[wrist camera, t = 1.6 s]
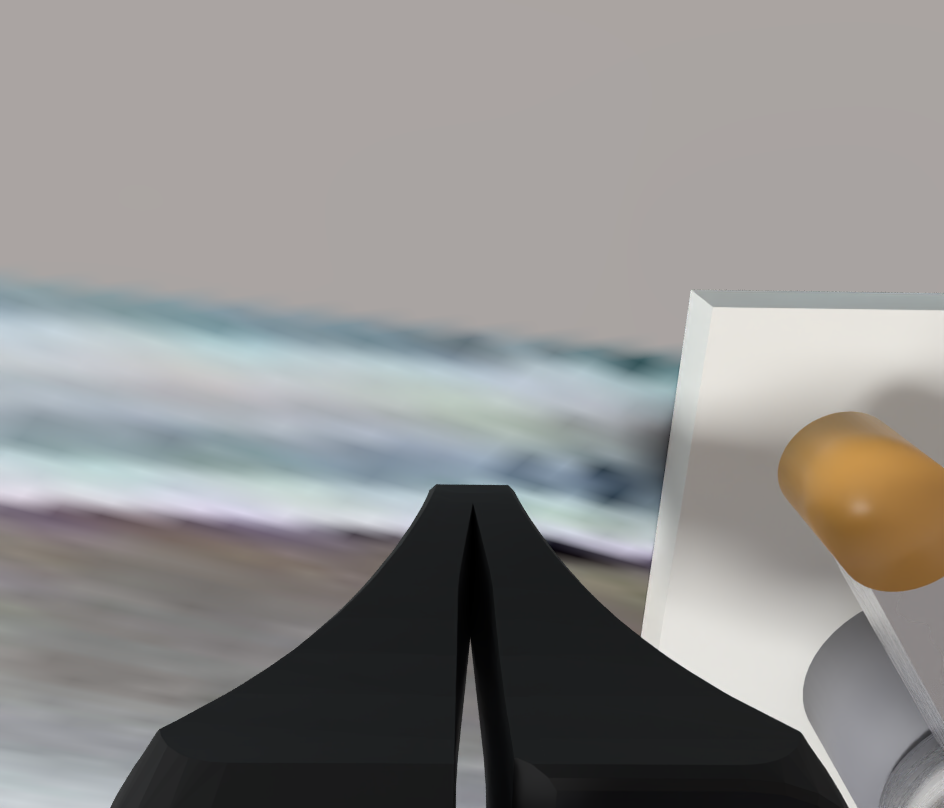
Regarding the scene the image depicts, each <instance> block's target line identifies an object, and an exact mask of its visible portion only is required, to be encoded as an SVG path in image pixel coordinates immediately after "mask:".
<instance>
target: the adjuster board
mask: <svg viewBox="0 0 944 808" xmlns="http://www.w3.org/2000/svg"><path fill="white" fill-rule="evenodd" d="M849 411H854V412H862V413H865V414H869V415H871V416H874V417H876V418H877V419H879V420H881V421H882V422H883V423H885V424H886V425H887V426H889V427H890V428H891V429H893V430H894V431H895V432H897V433H898V434H899V435H901V436H902V437H903V438H905V439H906V440H907V441H909V442H910V443H911V444H913V445H914V446H915V447H917V448H918V449H919V450H921V451H922V452H923V453H925V454H926V455H927V456H929V457H930V458H931V459H933V460H934V461H935V462H937V463H938V464H939V465H941V466H942V467H943V468H944V293H889V292H888V293H886V292H820V291H818V292H817V291H750V290H749V291H747V290H691V295H690V301H689V308H688V315H687V322H686V328H685V335H684V342H683V349H682V356H681V363H680V370H679V377H678V384H677V391H676V398H675V405H674V412H673V419H672V425H671V432H670V439H669V446H668V453H667V460H666V467H665V474H664V481H663V488H662V495H661V502H660V509H659V516H658V522H657V529H656V536H655V543H654V550H653V557H652V564H651V571H650V578H649V585H648V592H647V599H646V606H645V613H644V620H643V626H642V633H641V637H642V638H643V639H644V640H646V641H647V642H648V643H650V644H651V645H652V646H654V647H655V648H656V649H658V650H659V651H660V652H662V653H663V654H665V655H666V656H667V657H669V658H670V659H672V660H673V661H675V662H676V663H678V664H679V665H681V666H682V667H684V668H685V669H687V670H688V671H690V672H692V673H693V674H695V675H697V676H698V677H700V678H702V679H703V680H705V681H707V682H708V683H710V684H711V685H713V686H715V687H716V688H718V689H720V690H721V691H723V692H725V693H726V694H728V695H730V696H732V697H734V698H736V699H738V700H740V701H742V702H743V703H745V704H747V705H749V706H751V707H753V708H755V709H757V710H759V711H761V712H763V713H765V714H767V715H769V716H771V717H773V718H775V719H777V720H779V721H781V722H783V723H784V724H786V725H788V726H790V727H792V728H794V729H796V730H798V731H800V732H801V733H802V734H803V736H804V737H805V739H806V741H807V742H808V744H809V745H810V747H811V748H812V750H813V751H814V752H815V754H816V755H817V757H818V758H819V760H820V761H821V762H822V764H823V765H824V767H825V768H826V770H827V771H828V773H829V774H830V776H831V778H832V779H833V781H834V783H835V784H836V786H837V788H838V789H839V791H840V793H841V794H842V796H843V798H844V800H845V802H846V804H847V805H848V807H849V808H879V800H880V797H881V794H882V791H883V788H884V786H885V784H886V782H887V780H888V778H889V776H890V775H891V773H892V772H893V771H894V769H895V768H896V766H897V765H898V764H899V763H900V761H901V760H902V759H903V758H904V757H905V756H906V755H907V754H908V753H909V752H910V751H911V750H912V749H913V748H915V747H916V746H917V745H918V744H919V743H920V742H922V741H923V740H924V739H926V738H927V737H928V736H930V735H931V734H932V732H931V730H930V729H929V727H928V725H927V723H926V722H925V720H924V718H923V716H922V714H921V713H920V711H919V709H918V707H917V706H916V704H915V702H914V700H913V698H912V697H911V695H910V693H909V691H908V690H907V688H906V686H905V684H904V682H903V681H902V679H901V677H900V675H899V674H898V672H897V670H896V668H895V667H894V665H893V663H892V661H891V659H890V658H889V656H888V654H887V652H886V651H885V649H884V647H883V645H882V643H881V642H880V640H879V638H878V636H877V635H876V633H875V631H874V629H873V627H872V626H871V624H870V622H869V620H868V619H867V617H866V615H865V613H864V611H863V610H862V608H861V606H860V604H859V603H858V601H857V599H856V597H855V595H854V594H853V592H852V590H851V588H850V587H849V585H848V583H847V581H846V580H845V578H844V576H843V574H842V572H841V571H840V569H839V567H838V565H837V564H836V562H835V560H834V558H833V556H832V555H831V553H830V551H829V550H828V549H827V548H826V546H825V545H824V544H823V543H822V542H821V540H820V539H819V538H818V537H817V535H816V534H815V533H814V532H813V531H812V529H811V528H810V527H809V526H808V524H807V523H806V522H805V521H804V520H803V518H802V517H801V516H800V515H799V514H798V512H797V511H796V510H795V509H794V507H793V506H792V505H791V504H790V503H789V501H788V500H787V499H786V498H785V496H784V495H783V493H782V491H781V489H780V486H779V482H778V466H779V462H780V459H781V456H782V454H783V452H784V450H785V448H786V446H787V445H788V443H789V442H790V441H791V439H792V438H793V437H794V436H795V435H796V434H797V433H798V432H799V431H800V430H801V429H803V428H804V427H805V426H806V425H808V424H810V423H811V422H813V421H815V420H817V419H819V418H821V417H824V416H826V415H829V414H833V413H838V412H849Z"/></svg>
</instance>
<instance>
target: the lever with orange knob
mask: <svg viewBox="0 0 944 808" xmlns="http://www.w3.org/2000/svg"><path fill="white" fill-rule="evenodd" d="M778 482H779V486H780V489H781V491H782V493H783V495H784V496H785V498H786V499H787V500H788V501H789V503H790V504H791V505H792V506H793V507H794V509H795V510H796V511H797V512H798V514H799V515H800V516H801V517H802V518H803V520H804V521H805V522H806V523H807V524H808V526H809V527H810V528H811V529H812V531H813V532H814V533H815V534H816V535H817V537H818V538H819V539H820V540H821V542H822V543H823V544H824V545H825V546H826V548H827V549H828V550H829V551H830V553H831V555H832V556H833V558H834V560H835V562H836V564H837V565H838V567H839V569H840V571H841V572H842V574H843V576H844V578H845V580H846V581H847V583H848V585H849V587H850V588H851V590H852V592H853V594H854V595H855V597H856V599H857V601H858V603H859V604H860V606H861V608H862V610H863V611H864V613H865V615H866V617H867V619H868V620H869V622H870V624H871V626H872V627H873V629H874V631H875V633H876V635H877V636H878V638H879V640H880V642H881V643H882V645H883V647H884V649H885V651H886V652H887V654H888V656H889V658H890V659H891V661H892V663H893V665H894V667H895V668H896V670H897V672H898V674H899V675H900V677H901V679H902V681H903V682H904V684H905V686H906V688H907V690H908V691H909V693H910V695H911V697H912V698H913V700H914V702H915V704H916V706H917V707H918V709H919V711H920V713H921V714H922V716H923V718H924V720H925V722H926V723H927V725H928V727H929V729H930V730H931V732H932V734H931V735H930V736H928V737H927V738H926V739H924V740H923V741H922V742H920V743H919V744H918V745H917V746H916V747H915V748H913V749H912V750H911V751H910V752H909V753H908V754H907V755H906V756H905V757H904V758H903V759H902V760H901V761H900V763H899V764H898V765H897V766H896V768H895V769H894V771H893V772H892V773H891V775H890V776H889V778H888V780H887V782H886V784H885V786H884V788H883V791H882V794H881V797H880V800H879V808H944V468H943V467H942V466H941V465H939V464H938V463H937V462H935V461H934V460H933V459H931V458H930V457H929V456H927V455H926V454H925V453H923V452H922V451H921V450H919V449H918V448H917V447H915V446H914V445H913V444H911V443H910V442H909V441H907V440H906V439H905V438H903V437H902V436H901V435H899V434H898V433H897V432H895V431H894V430H893V429H891V428H890V427H889V426H887V425H886V424H885V423H883V422H882V421H881V420H879V419H877V418H876V417H874V416H871V415H869V414H865V413H862V412H854V411H849V412H838V413H833V414H829V415H826V416H824V417H821V418H819V419H817V420H815V421H813V422H811V423H810V424H808V425H806V426H805V427H804V428H803V429H801V430H800V431H799V432H798V433H797V434H796V435H795V436H794V437H793V438H792V439H791V441H790V442H789V443H788V445H787V446H786V448H785V450H784V452H783V454H782V456H781V459H780V462H779V466H778Z"/></svg>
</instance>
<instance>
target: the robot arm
mask: <svg viewBox="0 0 944 808" xmlns="http://www.w3.org/2000/svg"><path fill="white" fill-rule="evenodd" d="M470 638H471V647H472V656H473V666H474V675H475V683H476V692H477V701H478V710H479V719H480V728H481V737H482V746H483V754H484V767H485V781H486V808H849V807H848V805H847V804H846V802H845V800H844V798H843V796H842V794H841V793H840V791H839V789H838V788H837V786H836V784H835V783H834V781H833V779H832V778H831V776H830V774H829V773H828V771H827V770H826V768H825V767H824V765H823V764H822V762H821V761H820V760H819V758H818V757H817V755H816V754H815V752H814V751H813V750H812V748H811V747H810V745H809V744H808V742H807V741H806V739H805V737H804V736H803V734H802V733H801V732H800V731H798V730H796V729H794V728H792V727H790V726H788V725H786V724H784V723H783V722H781V721H779V720H777V719H775V718H773V717H771V716H769V715H767V714H765V713H763V712H761V711H759V710H757V709H755V708H753V707H751V706H749V705H747V704H745V703H743V702H742V701H740V700H738V699H736V698H734V697H732V696H730V695H728V694H726V693H725V692H723V691H721V690H720V689H718V688H716V687H715V686H713V685H711V684H710V683H708V682H707V681H705V680H703V679H702V678H700V677H698V676H697V675H695V674H693V673H692V672H690V671H688V670H687V669H685V668H684V667H682V666H681V665H679V664H678V663H676V662H675V661H673V660H672V659H670V658H669V657H667V656H666V655H665V654H663V653H662V652H660V651H659V650H658V649H656V648H655V647H654V646H652V645H651V644H650V643H648V642H647V641H646V640H644V639H643V638H642V637H640V636H639V635H638V634H636V633H635V632H634V631H632V630H631V629H630V628H629V627H627V626H626V625H625V624H624V623H623V622H621V621H620V620H619V619H618V618H617V617H615V616H614V615H613V614H612V613H611V612H610V611H609V610H608V609H607V608H606V607H604V606H603V605H602V604H601V603H600V602H599V601H598V600H597V599H596V598H595V597H594V596H593V595H592V594H591V593H590V592H589V591H588V590H587V589H586V588H585V587H584V586H583V585H582V584H581V583H580V581H579V580H578V579H577V578H576V577H575V576H574V575H573V574H572V572H571V571H570V570H569V569H568V568H567V567H566V566H565V564H564V563H563V562H562V561H561V560H560V558H559V557H558V556H557V555H556V553H555V552H554V551H553V549H552V548H551V547H550V546H549V544H548V543H547V542H546V540H545V539H544V538H543V536H542V535H541V534H540V532H539V531H538V529H537V528H536V527H535V525H534V524H533V522H532V521H531V519H530V518H529V516H528V515H527V513H526V511H525V510H524V508H523V507H522V505H521V503H520V501H519V500H518V498H517V496H516V494H515V492H514V491H513V490H512V489H511V488H510V487H509V486H508V485H440V484H436V485H435V486H434V487H433V488H432V489H430V490H429V493H428V496H427V498H426V500H425V502H424V504H423V506H422V508H421V509H420V511H419V513H418V514H417V516H416V518H415V519H414V521H413V523H412V524H411V526H410V527H409V529H408V530H407V532H406V533H405V534H404V536H403V537H402V539H401V540H400V542H399V543H398V545H397V546H396V547H395V549H394V550H393V551H392V553H391V554H390V555H389V557H388V558H387V559H386V560H385V561H384V563H383V564H382V565H381V566H380V567H379V569H378V570H377V571H376V572H375V574H374V575H373V576H372V577H371V578H370V580H369V581H368V582H367V583H366V584H365V585H364V586H363V587H362V588H361V590H360V591H359V592H358V593H357V594H356V595H355V596H354V597H353V598H352V599H351V600H350V601H349V602H348V603H347V604H346V605H345V606H344V607H343V608H342V609H341V610H340V611H339V612H338V613H337V614H336V615H334V616H333V617H332V618H331V619H330V620H329V621H328V622H327V623H325V624H324V625H323V626H322V627H321V628H320V629H318V630H317V631H316V632H315V633H314V634H313V635H311V636H310V637H309V638H308V639H307V640H305V641H304V642H303V643H302V644H300V645H299V646H298V647H297V648H295V649H294V650H293V651H291V652H290V653H289V654H287V655H286V656H284V657H283V658H281V659H280V660H279V661H277V662H276V663H274V664H273V665H271V666H270V667H268V668H267V669H265V670H264V671H262V672H261V673H259V674H258V675H256V676H254V677H253V678H251V679H250V680H248V681H247V682H245V683H244V684H242V685H240V686H239V687H237V688H235V689H234V690H232V691H230V692H228V693H227V694H225V695H223V696H221V697H219V698H218V699H216V700H214V701H212V702H210V703H208V704H207V705H205V706H203V707H201V708H199V709H197V710H195V711H194V712H192V713H190V714H188V715H186V716H184V717H182V718H181V719H179V720H177V721H175V722H173V723H171V724H169V725H167V726H165V727H163V728H161V729H159V730H158V731H157V733H156V734H155V736H154V737H153V739H152V741H151V742H150V744H149V745H148V747H147V748H146V750H145V752H144V753H143V755H142V756H141V758H140V759H139V760H138V762H137V763H136V765H135V766H134V768H133V769H132V771H131V772H130V774H129V776H128V777H127V779H126V781H125V782H124V784H123V785H122V787H121V789H120V790H119V792H118V794H117V796H116V797H115V799H114V801H113V803H112V805H111V807H110V808H456V778H457V762H458V751H459V741H460V731H461V722H462V712H463V703H464V693H465V684H466V674H467V664H468V655H469V645H470Z"/></svg>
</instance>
